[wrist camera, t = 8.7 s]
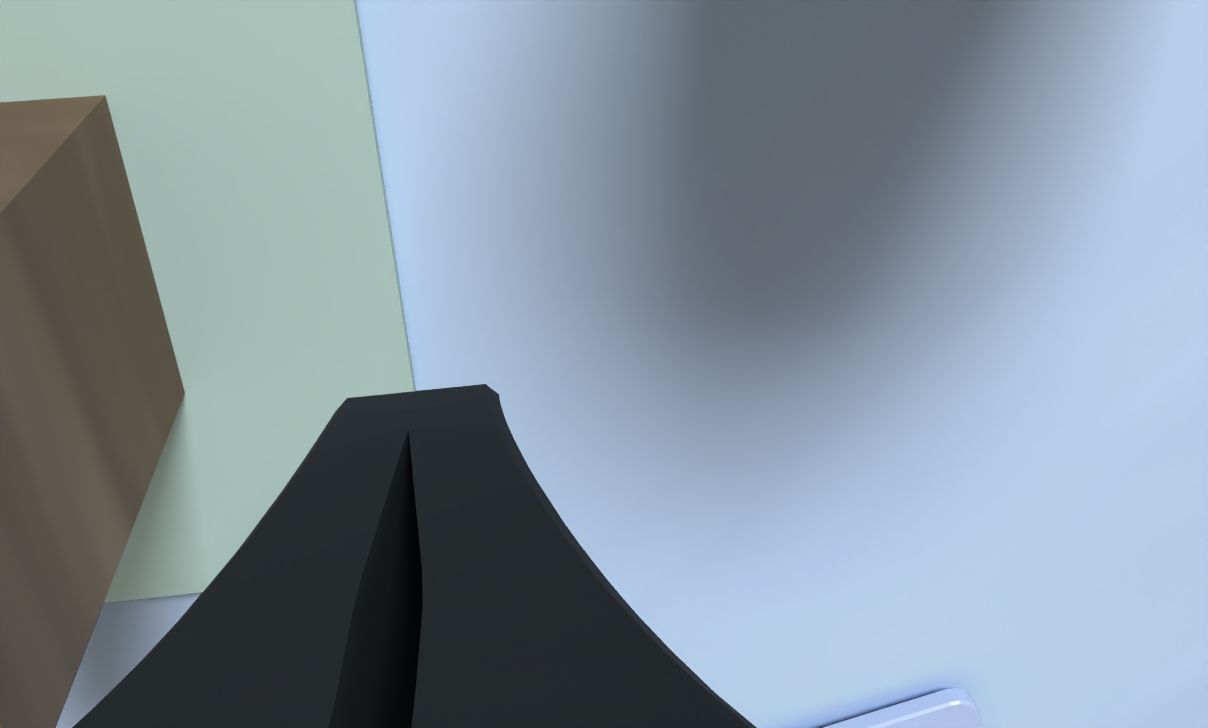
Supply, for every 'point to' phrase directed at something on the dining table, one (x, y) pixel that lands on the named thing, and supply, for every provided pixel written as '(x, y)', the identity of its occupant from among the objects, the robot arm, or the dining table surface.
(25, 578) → the domino
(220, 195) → the mat
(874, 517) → the dining table surface
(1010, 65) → the dining table surface
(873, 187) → the dining table surface
